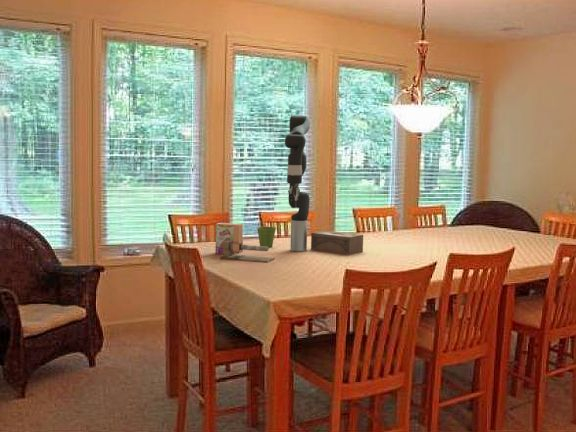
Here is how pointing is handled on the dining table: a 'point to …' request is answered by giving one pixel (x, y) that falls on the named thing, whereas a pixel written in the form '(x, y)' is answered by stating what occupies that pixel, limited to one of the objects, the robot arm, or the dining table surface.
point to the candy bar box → (223, 236)
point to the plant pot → (266, 236)
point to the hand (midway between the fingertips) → (293, 207)
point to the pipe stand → (228, 255)
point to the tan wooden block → (237, 238)
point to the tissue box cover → (337, 242)
